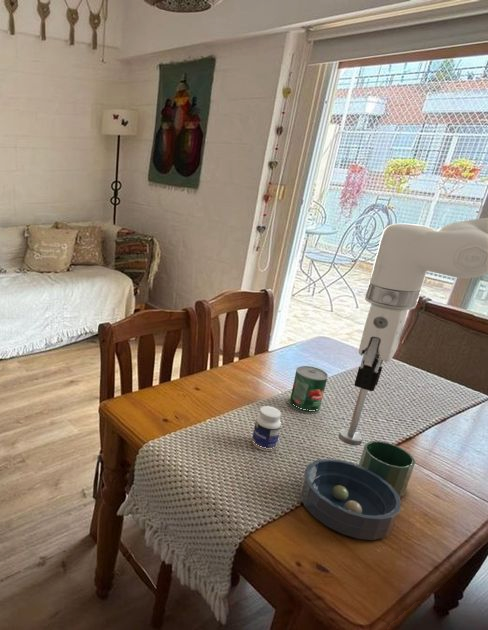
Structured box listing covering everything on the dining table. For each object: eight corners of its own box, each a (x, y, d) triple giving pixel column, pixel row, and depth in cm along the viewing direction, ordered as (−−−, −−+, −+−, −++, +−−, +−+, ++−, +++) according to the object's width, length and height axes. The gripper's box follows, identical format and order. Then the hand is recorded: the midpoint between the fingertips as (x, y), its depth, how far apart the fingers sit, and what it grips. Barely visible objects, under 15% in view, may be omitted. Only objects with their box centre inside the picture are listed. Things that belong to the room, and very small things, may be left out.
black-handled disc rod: (363, 439, 89) (387, 359, 83) (358, 448, 86) (383, 366, 80) (341, 431, 92) (363, 352, 85) (336, 439, 89) (358, 359, 82)
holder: (407, 482, 98) (417, 453, 95) (400, 504, 92) (411, 474, 89) (360, 463, 104) (369, 435, 101) (351, 483, 98) (360, 454, 95)
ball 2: (361, 513, 89) (365, 502, 87) (358, 522, 86) (361, 510, 85) (344, 506, 90) (348, 494, 89) (341, 514, 88) (344, 502, 87)
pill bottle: (246, 440, 112) (252, 407, 108) (264, 435, 114) (270, 402, 110) (263, 454, 107) (270, 419, 103) (281, 449, 109) (288, 415, 105)
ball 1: (348, 498, 92) (351, 486, 91) (344, 506, 90) (348, 494, 89) (332, 491, 94) (335, 480, 93) (328, 498, 92) (331, 487, 91)
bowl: (398, 507, 91) (406, 484, 89) (384, 558, 80) (393, 534, 78) (312, 470, 102) (317, 448, 100) (288, 510, 90) (293, 487, 88)
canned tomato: (317, 417, 122) (326, 382, 118) (287, 408, 126) (294, 374, 122) (321, 404, 128) (329, 370, 124) (291, 395, 132) (298, 363, 128)
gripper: (410, 311, 70) (380, 409, 77) (423, 289, 81) (396, 377, 88) (357, 300, 75) (332, 394, 81) (376, 281, 86) (353, 365, 92)
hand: (365, 384), depth 84 cm, fingers closed on black-handled disc rod, 2 cm apart
